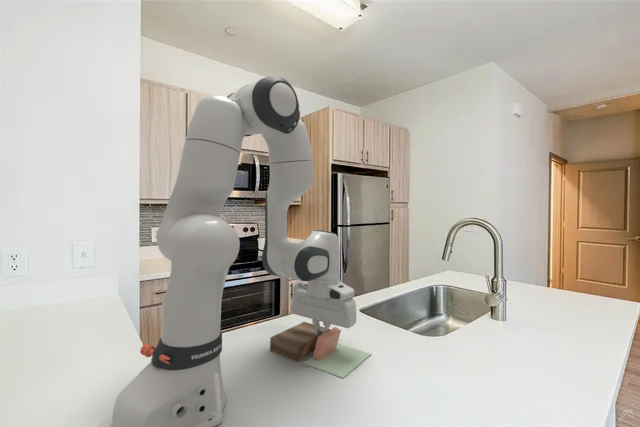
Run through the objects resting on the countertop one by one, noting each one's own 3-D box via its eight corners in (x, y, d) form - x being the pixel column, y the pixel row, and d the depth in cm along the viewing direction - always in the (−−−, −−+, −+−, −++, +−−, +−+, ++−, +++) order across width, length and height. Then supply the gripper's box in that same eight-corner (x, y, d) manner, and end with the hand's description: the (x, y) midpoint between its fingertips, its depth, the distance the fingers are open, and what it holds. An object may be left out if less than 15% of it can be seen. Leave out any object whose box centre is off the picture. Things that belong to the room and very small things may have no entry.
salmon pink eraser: (312, 356, 85) (318, 360, 84) (318, 336, 84) (324, 340, 83) (330, 345, 92) (336, 348, 91) (335, 326, 92) (341, 330, 90)
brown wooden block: (297, 361, 83) (298, 346, 83) (269, 351, 89) (270, 337, 89) (329, 341, 97) (330, 329, 97) (303, 333, 102) (304, 321, 102)
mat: (343, 378, 76) (343, 377, 76) (303, 363, 82) (303, 362, 82) (371, 354, 89) (371, 353, 89) (335, 343, 96) (335, 342, 96)
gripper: (287, 283, 92) (285, 330, 92) (348, 295, 81) (347, 349, 81) (300, 279, 97) (298, 324, 97) (359, 291, 86) (358, 341, 86)
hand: (321, 335), depth 89 cm, fingers closed
